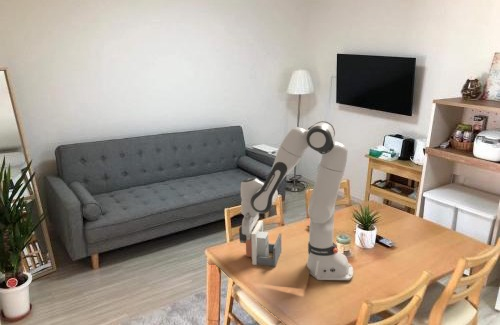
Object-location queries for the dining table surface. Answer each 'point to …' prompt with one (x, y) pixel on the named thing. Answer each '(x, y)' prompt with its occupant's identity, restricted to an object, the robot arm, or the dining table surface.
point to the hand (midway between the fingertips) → (251, 234)
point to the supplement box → (262, 244)
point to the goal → (272, 247)
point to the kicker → (248, 242)
